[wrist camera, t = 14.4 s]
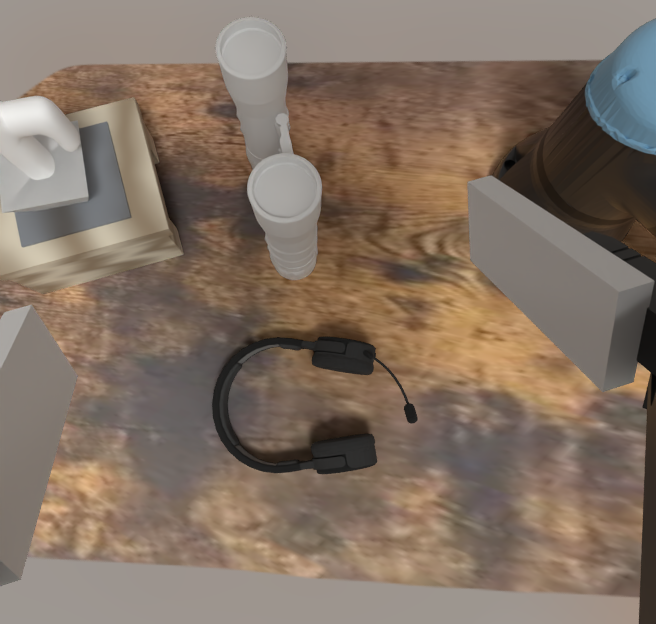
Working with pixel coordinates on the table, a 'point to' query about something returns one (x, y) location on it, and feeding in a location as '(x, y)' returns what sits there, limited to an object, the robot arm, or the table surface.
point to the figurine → (39, 157)
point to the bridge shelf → (96, 211)
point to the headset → (326, 453)
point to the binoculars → (271, 144)
